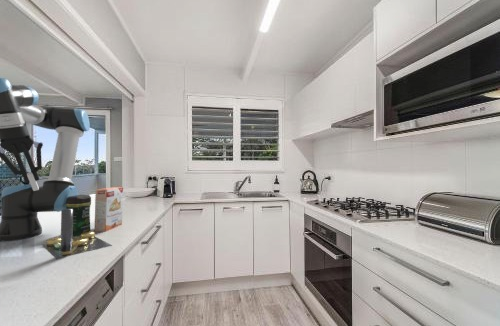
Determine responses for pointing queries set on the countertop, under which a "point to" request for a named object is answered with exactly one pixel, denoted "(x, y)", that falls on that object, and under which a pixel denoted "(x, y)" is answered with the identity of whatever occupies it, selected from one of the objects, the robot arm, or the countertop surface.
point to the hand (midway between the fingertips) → (36, 189)
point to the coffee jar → (80, 213)
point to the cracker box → (108, 208)
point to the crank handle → (69, 233)
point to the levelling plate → (93, 244)
